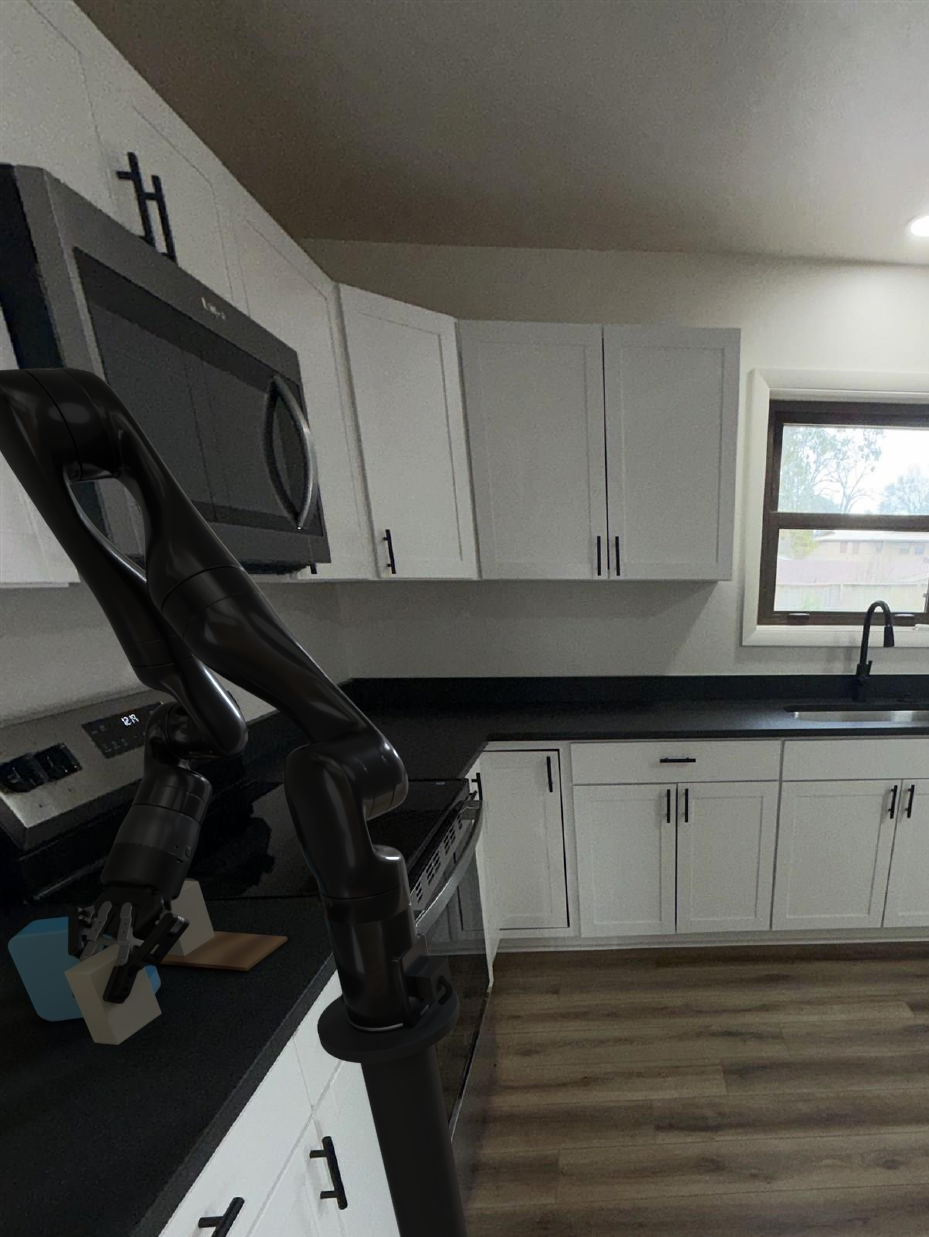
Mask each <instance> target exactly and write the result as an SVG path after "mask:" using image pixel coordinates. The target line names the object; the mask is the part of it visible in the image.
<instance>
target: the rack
mask: <svg viewBox="0 0 929 1237" xmlns="http://www.w3.org/2000/svg"><path fill="white" fill-rule="evenodd" d="M101 890H102V891H103V890H104V886H103V885H102V886H101ZM171 906H172V911H171V912H172V913H174V914H176V915H178V916H181V917H183V918H185V919H187V920H189V926H188V928H187V929H186V930H185V931H184V933H183V934H182V935H181V937H180V938H179V939H178V941H177V942H176V943H175V944H174V946H173V947H172V948H171V950H170V951H169V952H168V953H167V955H166V956H165V957H164V959H163V960H162V961H161V963H160V964H159V965H171V966H182V967H183V966H184V967H195V968H208V969H218V970H230V971H231V970H233V971H242V972H243V971H245V972H248V971H249V970H250V969H252V968H253V967H254V966H256V964H258V963H260V962H261V961H262V960H263V959H265V958H266V957H267V956H269V955H270V954H271V953H273V952H274V951H276V949H278V948H279V947H280V946H282V945H283V944H285V943H286V942H287V941H288V940H289V939H288V936H284V935H271V934H270V935H269V934H257V933H242V932H231V931H216V930H214V928H213V925H212V922H211V918H210V914H209V912H208V908H207V905H206V902H205V899H204V896H203V892H202V889H201V885H200V882H199V881H198V880H197V881H184V884H183V887H182V890H181V892H180V895H179V897H178V898H177V899H176V900H173V901H171ZM158 946H159V944H158V945H156V946H155V947H154V949H153V950H152V951H151V953H153V952H154V951H155V949H156V948H157V947H158Z"/></svg>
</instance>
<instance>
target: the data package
mask: <svg viewBox="0 0 929 1237" xmlns="http://www.w3.org/2000/svg"><path fill="white" fill-rule="evenodd" d="M103 936H104V938H107V939H112V938H113V937H110V936H108V935H105V934H103ZM82 947H84V943H83V941H82ZM103 947H104V946H103V945H101V946H100V948H99V950H98V951H97V953H98V952H100V951H102V949H103ZM7 949H8V952H9V954H10V956H11V959H12V961H13V963H14V965H15V967H16V969H17V972H18V974H19V976H20V978H21V981H22V983H23V985H24V987H25V990H26V992H27V994H28V996H29V998H30V1001H31V1003H32V1006H33V1007H34V1010H35V1012H36V1014H37V1015H38V1016H39V1017H40V1018H41V1019H43V1020H45V1021H48V1022H61V1021H69V1020H70V1021H71V1020H76V1019H84V1017H83V1015H82V1013H81V1010H80V1008H79V1006H78V1003H77V1001H76V999H75V998H73V995H72V994H73V992H72V989H71V987H70V985H69V982H68V980H67V978H66V975H65V973H64V972H65V971H67V970H68V969H70V968H72V967H74V966H75V965H77V964H79V963H81V961H80V960H79V959H77V958H76V957H74V956H70V955H69V954H68V916H61V917H52V918H43V919H42V918H41V919H36V920H33V921H31V922H29V923H28V924H27V925H25V927H23V928H22V929H21V930H20V931H19V932H17V933H16V934H15V935H14V936H13V937H12V938H11V939H10V940H9V941H8V944H7ZM145 970H146V973H147V975H148V978H149V981H150V983H151V986H152V989H153V991H154V994H155V995H156V994H157V992H158V991H159V989H160V988H161V984H162V982H161V981H162V980H161V978H160V975H159V973H158V969H157V966H151V965H150V966H146V967H145Z"/></svg>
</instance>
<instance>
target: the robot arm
mask: <svg viewBox="0 0 929 1237" xmlns="http://www.w3.org/2000/svg"><path fill="white" fill-rule="evenodd" d="M0 453H1V455H2V457H3V458H4V460H5V462H6V463H7V465H8V466H9V469H11V471H12V472H13V474H14V476H15V477H16V479H17V480H18V482H19V483H20V485H21V486H22V488H23V490H24V491H25V493H26V494H27V496H28V498H29V499H30V501H31V502H32V503H33V506H35V508H36V510H37V511H38V513H39V514H40V516H41V517H42V519H43V521H44V522H45V525H47V527H48V528H49V530H50V531H51V533H52V534H53V536H54V537H55V539H56V541H57V542H58V544H59V545H60V546H61V548H62V550H63V551H64V552H65V554H66V555H67V557H68V559H69V560H70V561H71V562H72V565H73V566H74V567H75V569H76V570H77V571H78V573H79V574H80V576H81V577H82V579H83V580H84V582H85V583H86V585H87V587H88V588H89V590H90V592H91V593H92V595H93V596H94V598H95V599H96V601H97V603H98V605H99V606H100V608H101V610H102V612H103V613H104V615H105V617H106V619H107V621H108V623H109V625H110V627H111V628H112V631H113V632H114V635H115V636H116V637H115V638H116V639H117V641H118V642H119V645H120V646H121V649H122V651H123V652H124V655H125V656H126V659H127V660H128V662H129V665H130V667H131V669H132V670H133V672H134V675H135V676H136V677H137V679H138V680H139V681H140V683H141V684H142V685H144V686H145V687H147V688H150V689H153V690H155V691H159V692H162V693H165V694H168V695H169V696H171V697H172V698H173V699H174V700H171V701H166V702H164V703H162V704H160V705H159V706H157V707H156V708H155V709H154V710H153V711H152V712H151V714H149V717H148V719H147V721H146V723H145V724H146V725H145V728H144V744H143V745H144V746H143V747H144V748H143V774H142V779H141V781H140V784H139V786H138V788H137V791H136V794H135V796H134V798H133V801H132V803H131V807H130V808H129V811H128V812H127V814H126V816H125V817H124V819H123V820H122V823H121V824H120V827H119V829H118V831H117V833H116V836H115V839H114V841H113V844H112V847H111V848H110V851H109V854H108V856H107V859H106V862H105V864H104V867H103V869H102V871H101V874H100V877H99V880H100V883H101V884H102V886H104V890H102V892H101V894H100V895H99V896H98V897H97V898H96V899H95V901H94V903H93V905H90V906H86V907H84V908H81V907H78V906H76V905H75V906H74V905H73V906H72V907H70V908H69V910H68V911H67V917H68V954H69V955H70V956H74V957H76V958H77V959H79V960H80V961H81V962H83V961H84V960H86V959H88V958H90V957H91V956H93V955H95V954H97V951H98V950H99V948H100V946H101V945H103V946H104V947H103V949H102V950H104V949H105V948H107V947H110V946H112V945H114V944H118V945H119V946H120V947H119V952H118V957H117V964H118V965H119V966H114V967H113V969H112V972H111V975H110V977H109V980H108V983H107V985H106V988H105V991H104V993H103V996H102V999H103V1000H104V1001H106V1002H111V1003H115V1004H122V1003H124V1002H125V1000H126V999H127V998H128V996H129V995H130V993H131V989H132V987H133V984H134V982H135V979H136V976H137V973H138V971H140V970H142V969H143V968H144V967H146V966H150V965H151V966H156V967H158V966H159V965H161V964H160V963H161V961H162V960H163V959H164V957H165V956H166V955H167V953H168V952H169V951H170V950H171V948H172V947H173V946H174V944H175V943H176V942H177V941H178V939H179V938H180V937H181V935H182V934H183V933H184V931H185V930H186V929H187V928H188V926H189V920H187V919H185V918H183V917H181V916H178V915H176V914H174V913H172V912H171V911H172V906H171V901H173V900H176V899H177V898H178V897H179V895H180V892H181V890H182V887H183V884H184V881H185V878H187V875H188V873H189V869H190V867H191V864H192V861H193V858H194V856H195V853H196V850H197V846H198V843H199V837H200V832H201V828H202V826H203V822H204V819H205V816H206V814H207V811H208V808H209V806H210V803H211V800H212V796H213V786H212V784H211V783H210V781H209V780H208V779H207V778H206V777H205V776H203V775H202V774H200V773H198V772H196V771H194V770H192V769H191V764H192V763H193V761H194V760H200V761H201V760H202V761H229V760H234V759H236V758H238V757H240V755H242V754H244V752H245V750H246V749H247V745H248V742H249V741H248V740H249V730H248V729H249V728H248V724H247V722H246V718H245V717H244V714H243V712H242V710H241V709H240V707H239V706H238V704H237V703H236V701H235V700H234V699H233V698H232V696H231V695H230V694H229V691H227V690H226V688H225V687H224V686H223V684H222V683H221V682H220V680H219V679H218V677H217V676H216V675H215V674H214V673H216V674H217V675H218V676H220V677H222V678H223V679H225V680H226V681H228V682H230V683H231V684H233V685H235V686H237V687H238V688H239V689H241V690H244V691H245V692H247V693H249V694H251V695H252V696H253V697H256V698H258V699H259V700H261V701H262V702H264V703H266V704H268V705H269V706H271V707H273V708H274V709H275V710H277V711H279V712H280V713H281V714H282V715H284V716H285V717H286V718H288V719H289V720H290V721H291V722H292V723H294V724H295V726H296V727H298V729H299V730H300V731H301V732H302V733H303V734H304V735H305V736H306V737H307V738H308V740H309V741H310V743H307V744H305V745H301V746H298V748H295V749H293V750H292V751H291V752H290V753H289V754H288V756H287V757H286V759H285V761H284V764H283V769H282V770H283V771H282V783H283V784H282V785H283V791H284V796H285V800H286V802H287V803H286V804H287V807H288V811H289V814H290V817H291V820H292V824H293V828H294V831H295V833H296V837H297V840H298V844H299V847H300V851H301V854H302V857H303V859H304V861H305V864H306V866H307V867H308V869H309V871H311V873H312V875H313V877H314V878H315V881H316V884H317V887H318V888H317V889H318V892H319V898H320V901H321V906H322V910H323V913H324V919H325V923H326V928H327V931H328V936H329V942H330V945H331V950H332V955H333V959H334V964H335V967H336V972H337V976H338V982H339V985H340V989H341V994H340V1000H341V1005H342V1006H343V1004H344V1002H345V1007H346V1011H347V1020H348V1023H349V1025H350V1026H351V1027H352V1028H354V1029H355V1030H357V1031H360V1032H364V1033H386V1032H392V1031H396V1030H399V1029H403V1028H410V1029H412V1028H414V1027H415V1026H416V1025H417V1023H418V1022H419V1021H420V1020H421V1018H422V1017H423V1016H424V1015H425V1014H426V1013H427V1011H428V1010H429V1008H430V1007H431V1006H432V1005H433V1003H434V1002H435V1001H436V998H435V997H436V996H437V994H438V993H439V992H440V991H441V989H442V988H443V987H445V989H446V992H445V994H444V995H443V996H442V997H441V998H440V999H439V1001H438V1003H439V1004H440V1005H444V1004H445V1003H446V1001H448V1000H449V998H450V997H451V996H452V994H453V989H454V986H453V985H452V983H451V982H450V980H451V977H452V976H451V970H450V969H451V968H450V964H449V963H450V962H449V957H448V956H447V957H445V956H434V955H433V956H432V955H430V956H429V951H428V944H427V938H426V935H425V933H423V932H418V930H417V924H416V918H415V913H414V908H413V907H414V906H413V901H412V895H411V894H412V893H411V889H410V883H409V877H408V872H407V871H408V870H407V864H406V859H405V857H404V855H403V854H402V852H401V851H400V850H399V849H397V848H395V847H393V846H389V845H386V844H385V845H384V844H375V843H372V840H371V836H370V832H369V830H368V829H369V828H368V824H367V822H370V821H371V820H374V819H375V818H376V819H377V818H378V817H380V816H382V815H384V814H387V813H389V812H391V811H393V810H395V809H396V808H397V807H399V806H401V805H402V804H403V802H404V801H405V800H406V798H407V794H408V792H409V779H408V778H409V777H408V773H407V769H406V767H405V764H404V762H403V760H402V758H401V757H400V754H399V753H398V752H397V750H396V749H395V747H394V746H393V745H392V743H391V742H390V741H389V740H388V738H387V737H386V736H385V735H384V734H383V733H382V732H381V731H380V729H378V727H376V725H375V724H374V723H373V722H372V721H371V720H370V719H369V718H368V717H367V716H366V715H365V714H364V713H363V712H362V711H361V710H360V708H359V707H358V706H357V705H356V704H355V703H354V702H353V700H351V699H350V698H349V697H348V696H347V695H346V693H345V692H344V691H343V690H341V688H340V687H339V686H338V685H337V684H336V683H335V681H333V680H332V679H331V677H330V676H329V675H328V673H327V672H326V671H325V670H324V669H323V667H322V666H321V665H320V664H319V663H318V661H317V660H316V659H315V658H314V656H313V655H312V654H311V653H310V652H309V651H308V649H307V648H306V647H305V645H304V644H303V643H302V642H301V641H300V640H299V638H298V637H297V636H296V634H294V632H293V631H292V630H291V629H290V627H289V626H288V625H287V624H286V622H285V621H284V620H283V618H282V617H281V615H280V613H279V612H278V611H277V610H276V609H275V607H274V606H273V604H272V603H271V601H270V600H269V599H268V598H267V596H266V595H265V594H264V592H263V591H262V589H260V587H259V585H258V584H256V582H255V581H254V580H253V578H252V577H251V576H250V574H249V573H248V572H247V570H245V568H244V566H242V564H241V563H240V562H239V561H238V560H237V559H236V557H235V556H234V555H233V553H231V551H230V550H229V549H228V548H227V547H226V545H225V544H224V543H223V541H222V540H221V539H220V538H219V536H218V535H217V534H216V532H215V531H214V530H213V529H212V528H211V526H210V525H209V523H208V522H207V521H206V520H205V518H204V517H203V515H202V514H201V513H200V511H199V510H198V509H197V508H196V506H195V505H194V504H193V503H192V500H190V498H189V496H187V494H186V493H185V491H184V489H183V488H182V487H181V485H180V484H179V482H178V480H176V478H175V477H174V475H173V474H172V472H171V470H170V469H169V467H168V466H167V465H166V462H165V461H164V459H163V458H162V457H161V455H160V454H159V452H158V451H157V449H156V448H155V446H154V445H153V443H152V442H151V440H150V439H149V437H148V435H147V434H146V432H145V431H144V429H143V428H142V427H141V425H140V424H139V422H138V421H137V419H136V418H135V416H134V415H133V413H132V412H131V410H130V409H129V408H128V406H127V405H126V404H125V402H124V400H122V398H121V397H120V396H119V394H118V393H117V392H116V391H115V389H113V388H112V387H111V385H110V384H108V383H107V381H105V380H104V378H102V377H100V375H98V374H96V373H94V372H93V371H90V370H88V369H84V368H80V367H79V368H78V367H67V366H66V367H65V366H64V367H40V368H39V367H37V368H14V369H0ZM108 479H109V480H110V479H113V480H116V481H117V482H119V483H120V484H121V485H122V486H124V488H125V489H126V490H127V492H129V494H130V495H131V497H132V498H133V500H134V501H135V503H136V504H137V506H138V508H139V511H140V513H141V517H142V524H143V531H144V534H143V535H144V568H142V567H140V566H139V565H138V564H137V563H136V562H135V561H133V560H132V559H131V558H129V557H128V556H127V555H126V554H125V553H124V552H123V551H121V550H120V549H119V548H117V546H116V545H114V544H113V543H112V541H110V540H109V539H108V538H107V537H106V536H105V535H104V534H103V533H102V532H101V531H100V530H99V529H98V528H97V527H96V526H95V524H94V523H93V522H92V521H91V519H90V518H89V517H88V515H87V514H86V513H85V511H84V509H83V508H82V506H81V505H80V504H79V502H78V500H77V498H76V496H75V495H74V492H73V491H72V489H71V486H70V485H73V484H80V483H88V482H89V483H90V482H95V481H96V482H97V481H103V480H108ZM213 672H214V673H213ZM103 934H105V935H108V936H110V937H113V938H112V939H107V938H104V936H103ZM82 941H83V943H84V947H82ZM158 944H159V946H158V947H157V948H156V949H155V951H154V952H153V953H151V951H152V950H153V949H154V947H155V946H156V945H158ZM133 948H134V949H135V953H134V954H132V950H133ZM72 995H73V998H75V996H74V994H72Z"/></svg>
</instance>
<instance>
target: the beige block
mask: <svg viewBox="0 0 929 1237" xmlns="http://www.w3.org/2000/svg"><path fill="white" fill-rule="evenodd" d="M119 947H120V946H119V945H118V944H114V945H112V946H110V947H107V948H105V949H104V950H102V951H100V952H98V953H97V954H95V955H93V956H91V957H90V958H88V959H86V960H84V961H83V962H81V963H79V964H77V965H75V966H74V967H72V968H70V969H68V970H67V971H65V972H64V973H65V975H66V978H67V980H68V982H69V985H70V987H71V989H72V992H73V994H74V996H75V999H76V1001H77V1003H78V1006H79V1008H80V1010H81V1013H82V1015H83V1017H84V1018H83V1019H84V1022H85V1024H86V1026H87V1029H88V1031H89V1034H90V1035H91V1038H92V1041H93V1042H94V1044H106V1045H114V1046H115V1045H116V1046H119V1045H120V1044H121V1043H123V1042H124V1041H125V1040H127V1039H128V1038H131V1037H132V1035H134V1034H135V1033H137V1032H139V1031H140V1030H141V1029H142V1028H143V1027H145V1026H146V1025H148V1024H149V1023H151V1022H152V1021H153V1020H155V1019H156V1018H157V1017H159V1016H160V1015H162V1010H161V1008H160V1005H159V1002H158V999H157V998H156V993H155V994H154V991H153V989H152V986H151V983H150V981H149V978H148V975H147V973H146V970H145V967H144V968H143V969H142V970H140V971H138V973H137V976H136V979H135V982H134V984H133V987H132V989H131V993H130V995H129V996H128V998H127V999H126V1000H125V1002H124V1003H122V1004H115V1003H111V1002H106V1001H104V1000H103V999H102V996H103V993H104V991H105V988H106V985H107V983H108V980H109V977H110V975H111V972H112V969H113V967H114V966H119V965H118V964H117V957H118V952H119ZM134 953H135V949H134V948H133V950H132V954H134Z"/></svg>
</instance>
